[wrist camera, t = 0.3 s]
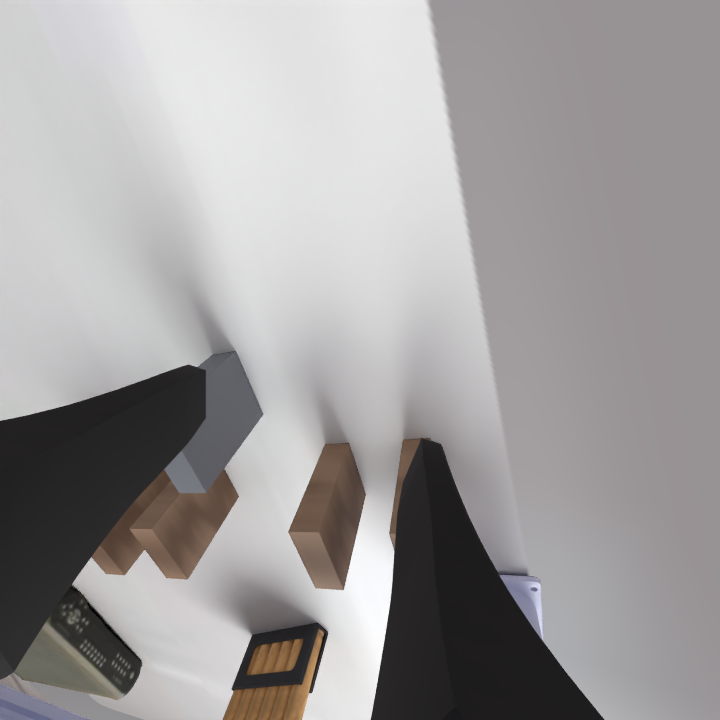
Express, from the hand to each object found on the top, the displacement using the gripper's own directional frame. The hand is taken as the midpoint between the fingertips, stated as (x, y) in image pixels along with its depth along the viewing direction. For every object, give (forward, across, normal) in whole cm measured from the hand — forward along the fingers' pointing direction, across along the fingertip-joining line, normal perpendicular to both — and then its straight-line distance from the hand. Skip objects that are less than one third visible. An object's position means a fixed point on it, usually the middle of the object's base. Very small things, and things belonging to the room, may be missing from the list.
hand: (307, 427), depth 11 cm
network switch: (+11, +33, +60) cm, 69 cm away
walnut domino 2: (+10, +9, +17) cm, 22 cm away
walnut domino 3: (+10, -1, +12) cm, 16 cm away
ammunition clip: (+10, 0, +40) cm, 41 cm away
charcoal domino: (+10, +7, +8) cm, 14 cm away
